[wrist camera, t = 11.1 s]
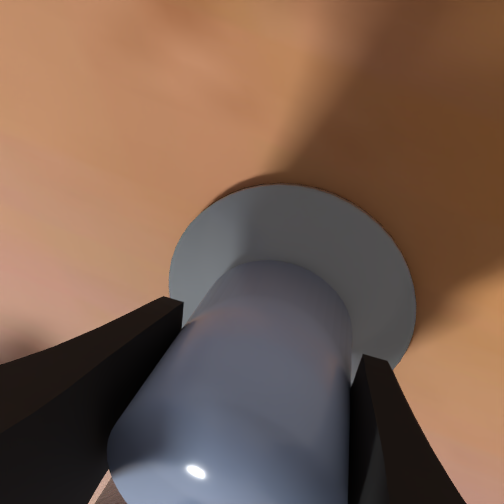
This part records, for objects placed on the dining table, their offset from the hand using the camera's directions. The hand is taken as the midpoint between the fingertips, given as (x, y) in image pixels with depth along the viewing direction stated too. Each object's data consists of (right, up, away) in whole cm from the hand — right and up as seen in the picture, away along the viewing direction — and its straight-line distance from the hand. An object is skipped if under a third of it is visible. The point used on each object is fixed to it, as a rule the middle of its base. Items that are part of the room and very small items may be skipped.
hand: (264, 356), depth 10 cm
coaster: (+1, +1, +3) cm, 3 cm away
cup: (0, 0, +2) cm, 2 cm away
